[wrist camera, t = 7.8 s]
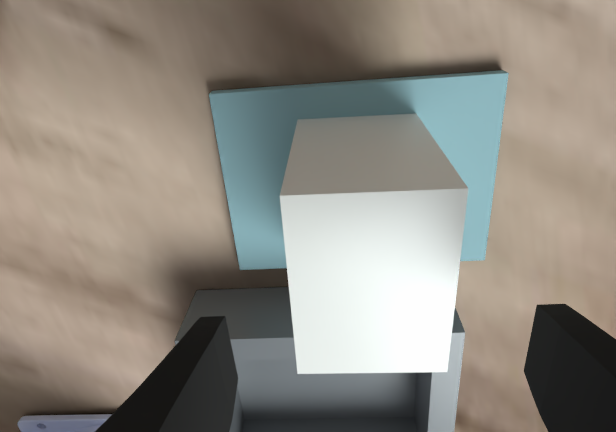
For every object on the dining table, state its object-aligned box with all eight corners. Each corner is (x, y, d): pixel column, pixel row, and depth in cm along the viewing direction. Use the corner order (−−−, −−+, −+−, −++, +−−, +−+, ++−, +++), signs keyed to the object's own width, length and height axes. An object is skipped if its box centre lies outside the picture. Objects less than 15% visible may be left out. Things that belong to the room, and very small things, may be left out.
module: (307, 252, 20) (297, 374, 13) (297, 119, 17) (279, 195, 11) (409, 248, 19) (447, 372, 13) (416, 113, 17) (468, 188, 10)
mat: (242, 262, 21) (239, 270, 20) (212, 90, 17) (208, 93, 17) (480, 252, 20) (484, 260, 19) (502, 70, 16) (508, 72, 16)
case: (228, 426, 26) (215, 484, 23) (196, 290, 22) (174, 340, 19) (433, 422, 25) (447, 483, 22) (444, 281, 21) (465, 332, 18)
